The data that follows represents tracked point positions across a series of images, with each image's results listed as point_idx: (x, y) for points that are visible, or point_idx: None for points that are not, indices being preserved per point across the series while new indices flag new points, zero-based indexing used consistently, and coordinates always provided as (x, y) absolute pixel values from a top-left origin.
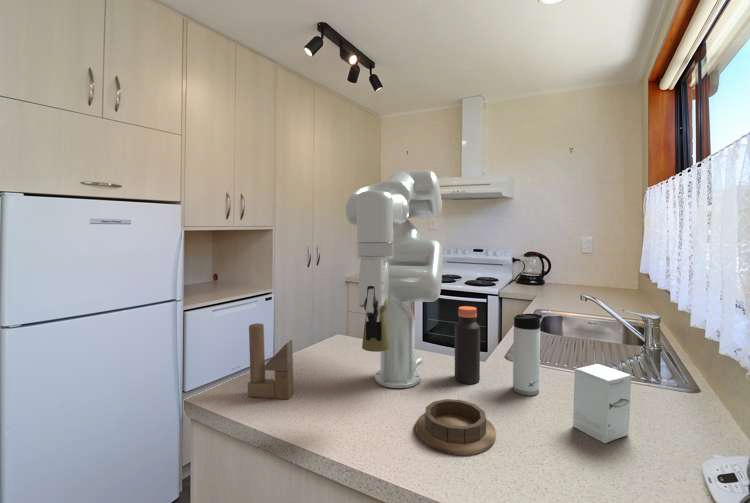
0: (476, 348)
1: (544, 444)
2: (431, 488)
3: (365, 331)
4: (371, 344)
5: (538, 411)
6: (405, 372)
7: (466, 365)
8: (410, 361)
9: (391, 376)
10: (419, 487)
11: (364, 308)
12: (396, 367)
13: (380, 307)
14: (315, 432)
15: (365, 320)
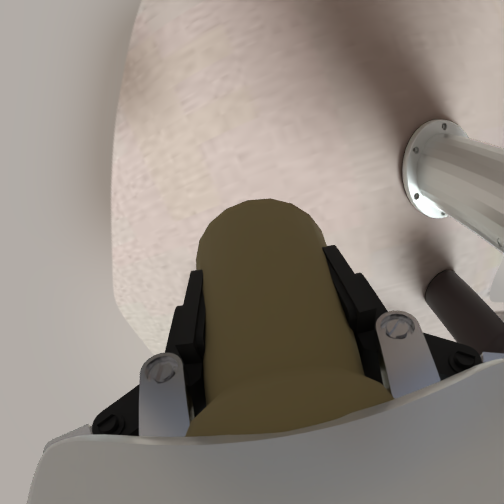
0: (457, 342)
1: None
2: (126, 304)
3: (212, 279)
4: None
5: None
6: (433, 201)
7: (442, 311)
8: (454, 218)
9: (424, 167)
10: (120, 292)
11: (222, 404)
12: (437, 185)
13: None
14: (167, 80)
15: (231, 318)
